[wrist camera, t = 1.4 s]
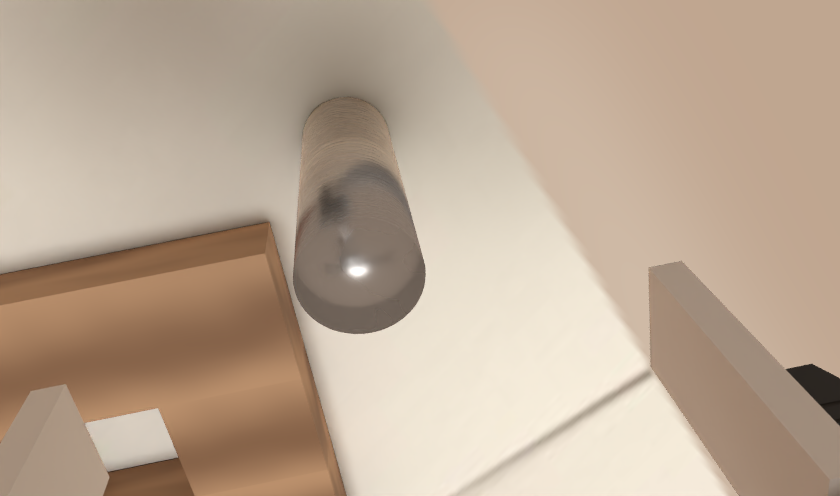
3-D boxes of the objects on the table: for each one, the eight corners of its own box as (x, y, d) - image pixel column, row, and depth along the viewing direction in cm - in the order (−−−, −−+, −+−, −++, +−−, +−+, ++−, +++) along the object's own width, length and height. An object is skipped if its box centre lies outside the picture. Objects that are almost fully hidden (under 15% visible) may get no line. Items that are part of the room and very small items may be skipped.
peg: (293, 106, 30) (278, 232, 19) (380, 89, 30) (414, 206, 19) (313, 186, 31) (310, 345, 21) (396, 170, 32) (434, 319, 21)
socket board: (-149, 303, 31) (-193, 343, 29) (269, 221, 32) (264, 253, 29) (22, 584, 40) (1, 635, 37) (352, 515, 40) (354, 560, 38)
